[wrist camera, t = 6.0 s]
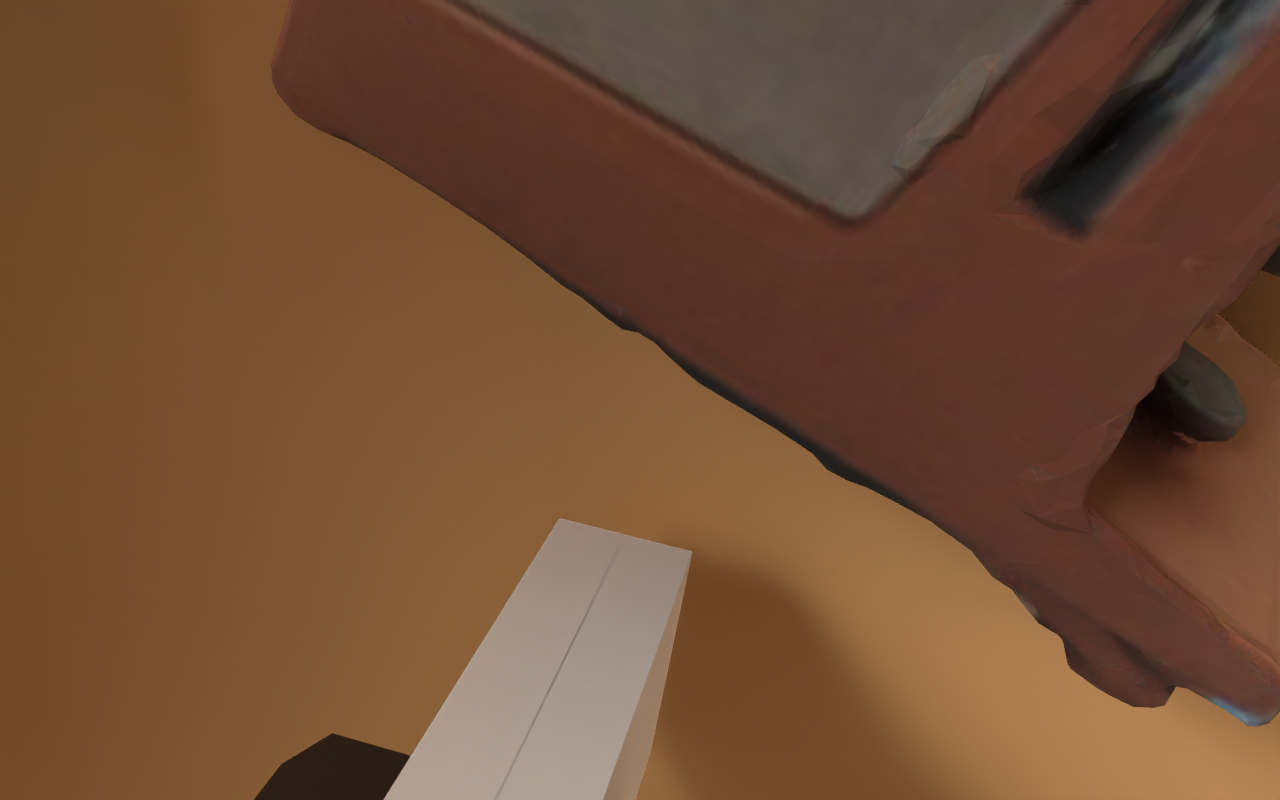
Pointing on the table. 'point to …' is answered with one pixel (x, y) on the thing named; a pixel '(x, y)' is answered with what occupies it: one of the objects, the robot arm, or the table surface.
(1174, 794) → the table surface
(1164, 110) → the electronic device
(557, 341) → the table surface
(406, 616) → the table surface
